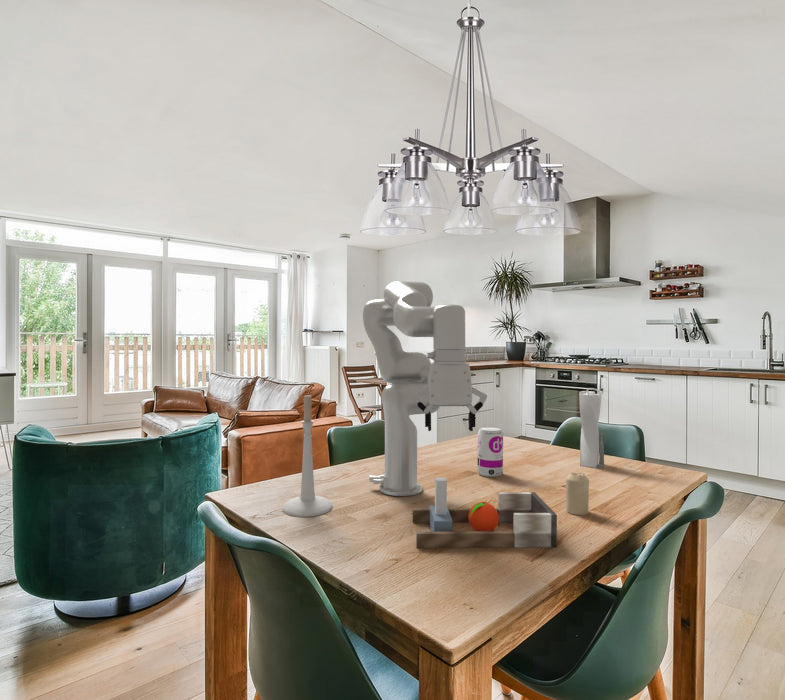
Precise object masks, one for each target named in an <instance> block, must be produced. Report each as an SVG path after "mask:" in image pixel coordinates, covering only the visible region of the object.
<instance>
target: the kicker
mask: <svg viewBox="0 0 785 700" xmlns="http://www.w3.org/2000/svg"><path fill="white" fill-rule="evenodd" d="M447 490H448V479H447V478H446V477H435V478H434V505H429V509H430V523H429V526H430V529H431V531H453V523H452V518H451V516H450V513H449V510H448V509H449V508H448V504H447V503H448V501H447V499H448V498H447V497H448V491H447Z"/></svg>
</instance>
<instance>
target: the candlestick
mask: <svg viewBox="0 0 785 700" xmlns="http://www.w3.org/2000/svg"><path fill="white" fill-rule="evenodd" d="M300 422H301V424H302V429H303V431H304V433H303V447H302V449H303V450H302V462H301V463H302V467H301V483H300V484H301V485H300V496H296V497H293V498H290V499H289V500H287V501H286V502H285V503H284V504H283V506H282V512H283V513H285V514H286V515H289V516H292V517H297V518H298V517H299V518H300V517H301V518H304V517H305V518H309V517H315V516H316V517H317V516H321V515H323V514H324V515H325V514H327V513H329V512H330V511H331V510H332V509H333V503H332V502H331V500H329V499H328V498H326V497H324V496H320V495H316V493H315V483H314V481H315V479H314V477H315V476H314V463H313V462H314V458H313V439H312V435H313V434H312V433H311V432H312V429H313V427H314V425H313V423H315V420H313V419H312V395H309V394H307V395H304V396H303V420H301V421H300Z"/></svg>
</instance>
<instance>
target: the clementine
mask: <svg viewBox="0 0 785 700" xmlns="http://www.w3.org/2000/svg"><path fill="white" fill-rule="evenodd" d="M469 509H470V511H469V516H468V519H469V526H471V528H472V529H473V531H496V529H497V527H498V525H499V523H500V522H499V516H498V512H497V510H496V509H497V508H495V506H494V505H492V504H491V503H489V502H487V501H486V502H485V501H479V502H477V503H475V504H473V505H472V507H471V508H469Z"/></svg>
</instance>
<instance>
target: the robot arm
mask: <svg viewBox="0 0 785 700" xmlns="http://www.w3.org/2000/svg"><path fill="white" fill-rule="evenodd" d="M433 299H434V294H433V290H432V288H431V287H430V285H429V284H428V283H425V282H423V281H407V280H401V281H400V280H397V281H392V282H390V283H389V284H388V285H386V287H385V288H384V290H383V298H378V299H372V300H369V301H367V303H365V305H364V306H363V309H362V310H363V311H362V322H363V326H364V330H365V333H366V335H367V337H368V338H369V340H370V342H371V344H372V347H373V349H374V350H373V351H374V353H375V357H376V361H377V366H378V369H379V374H380V376H381V379H382V380H383V381H384V382H385V383H388V384H387V385H386V386H384V388H383V390H382V392H381V404H382V409H383V410H382V411H383V417H384V472H383V474H380V475H369V483H372V484H374V485H377V484H378V485H379V486H378V487H379V488H378V489H379V491H380V492H381V493H382V494H385V495H388V496H394V497H408V496H409V497H410V496H411V497H412V496H414V495H418V494H420V493H421V492H422V491H423V485H422V484H421V483H420V482H418V429H417V426H416V425H415V422H413V421H412V419H411V418H410V416H413V415H424V427H425V428H427V430H428V432H431V431H432V414H433V413H436V412H438V411H439V409H440V408H441V407H466V408H467V409H468V410H469V412H468V417H467V418H468V430H469V431H470V432H474V428H475V427H476V414H477V413H478V411H480V409H481V408H482V407H484V404H485V402H486V399H487V398H488V395H487V394H486V393H484V392H482V391H481V390H478V389H476V388H474V387H473V384H472V373H471V367H470V363H467V361H466V359H467V358H466V355H467V354H466V352H467V351H466V311H465V308H464V306H462V305H459V304H442V305H441V304H440V305H437V306H432V304H433V301H434V300H433ZM390 326H391V327H396V329H397V330H398V331H399V332H401V333H402V334H403V335H405V336H407V337H411V338H432V339H433V341H432V342H433V344H432V345H433V347H432V348H433V351H432V352H431V351H430V352H427V355H426V354H425V353H423V352H419V351H417V352H416V351H415V352H413V351H411V352H409V351H407V352H406V351H405V350H404V349H403V347H402V342H401V339H399V337H398V336H397V335H396V334H395V332H393V331H392V330H391V329H390V328H389V327H390ZM431 360H433V363H432V362H431ZM473 395H475V396H477V397H478V398H479V399H478V401H477V403H476V404H475V405H473V404H472V403H473Z"/></svg>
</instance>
